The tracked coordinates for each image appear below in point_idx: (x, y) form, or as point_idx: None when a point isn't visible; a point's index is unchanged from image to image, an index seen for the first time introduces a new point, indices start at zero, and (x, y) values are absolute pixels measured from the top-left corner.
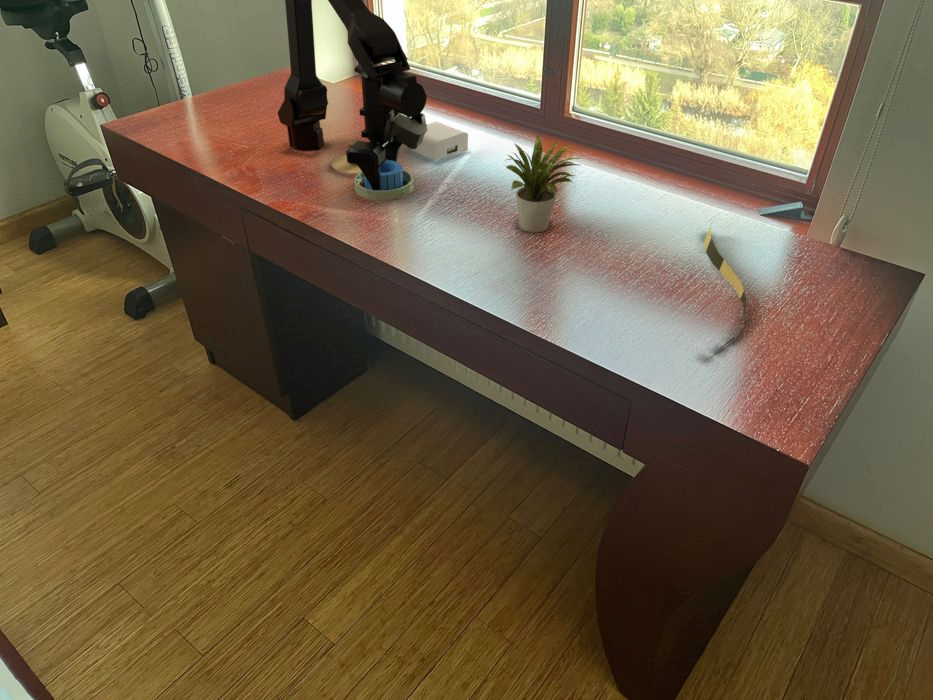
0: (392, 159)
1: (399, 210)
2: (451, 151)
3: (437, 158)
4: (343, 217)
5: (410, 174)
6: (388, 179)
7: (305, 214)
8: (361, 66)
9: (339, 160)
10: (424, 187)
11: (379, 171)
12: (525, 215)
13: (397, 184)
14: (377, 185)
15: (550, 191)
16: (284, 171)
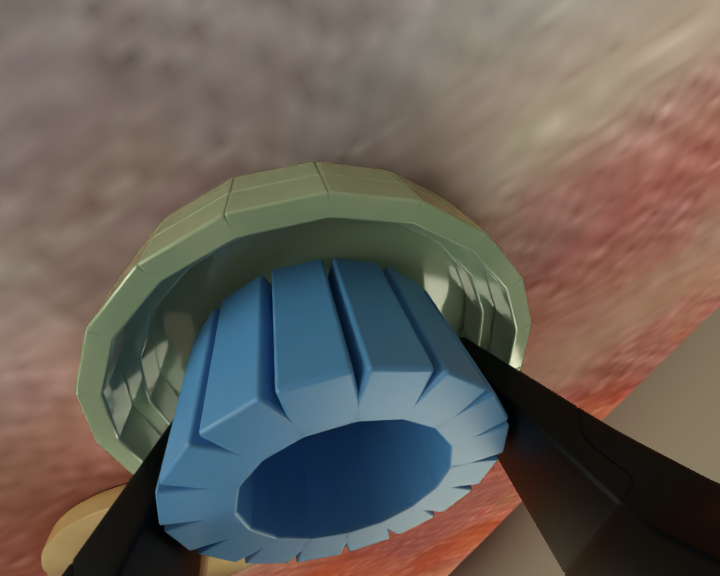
0: (158, 545)
1: (536, 105)
2: None
3: None
4: (625, 309)
5: (113, 317)
6: (464, 354)
7: (599, 401)
8: None
9: (209, 573)
10: (54, 145)
11: (609, 454)
12: None
13: (369, 286)
14: (497, 360)
15: None
16: (355, 564)
